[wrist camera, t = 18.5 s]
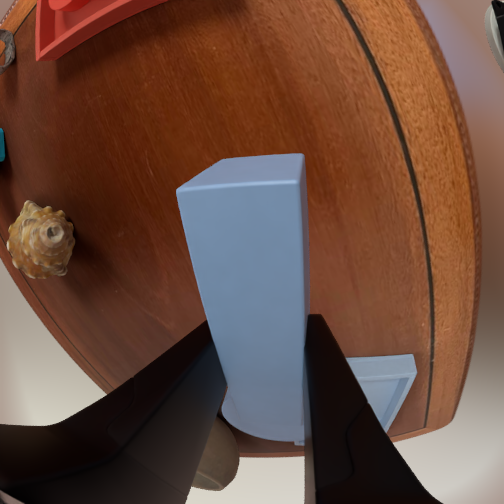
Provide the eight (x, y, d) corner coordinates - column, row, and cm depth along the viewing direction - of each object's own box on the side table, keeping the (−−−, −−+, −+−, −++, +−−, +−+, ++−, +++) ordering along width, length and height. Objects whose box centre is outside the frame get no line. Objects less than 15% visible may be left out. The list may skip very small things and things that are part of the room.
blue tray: (293, 357, 24) (290, 377, 22) (412, 353, 21) (417, 372, 19) (296, 430, 32) (294, 445, 30) (379, 429, 29) (379, 443, 27)
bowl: (129, 404, 39) (104, 450, 30) (141, 357, 30) (101, 424, 21) (221, 447, 40) (205, 494, 31) (270, 417, 31) (254, 488, 22)
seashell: (63, 165, 23) (19, 179, 14) (109, 222, 27) (86, 260, 18) (15, 224, 23) (-31, 258, 14) (58, 275, 27) (28, 325, 18)
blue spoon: (180, 164, 7) (122, 195, 5) (351, 152, 6) (374, 179, 4) (240, 406, 13) (226, 452, 11) (329, 412, 12) (326, 461, 10)
